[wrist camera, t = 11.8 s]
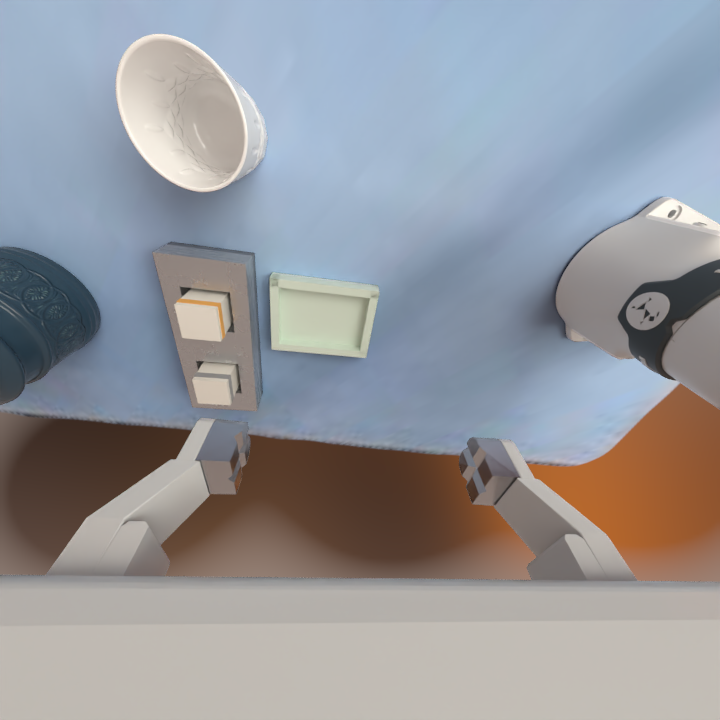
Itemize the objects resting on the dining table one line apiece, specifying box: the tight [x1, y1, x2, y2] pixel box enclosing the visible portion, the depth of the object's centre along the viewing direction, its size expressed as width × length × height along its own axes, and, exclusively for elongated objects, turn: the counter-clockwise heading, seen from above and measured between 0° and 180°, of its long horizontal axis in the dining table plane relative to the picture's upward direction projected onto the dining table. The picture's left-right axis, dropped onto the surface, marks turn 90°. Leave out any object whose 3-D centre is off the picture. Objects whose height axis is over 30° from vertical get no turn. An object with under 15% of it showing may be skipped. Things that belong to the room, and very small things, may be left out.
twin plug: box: [192, 361, 240, 405], centre depth 39 cm, size 4×4×6 cm
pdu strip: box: [152, 242, 263, 411], centre depth 37 cm, size 9×22×4 cm, turn 171°
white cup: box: [116, 34, 268, 192], centre depth 23 cm, size 8×8×10 cm
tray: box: [269, 272, 379, 358], centre depth 38 cm, size 13×10×2 cm
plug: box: [174, 288, 233, 342], centre depth 33 cm, size 4×4×6 cm
